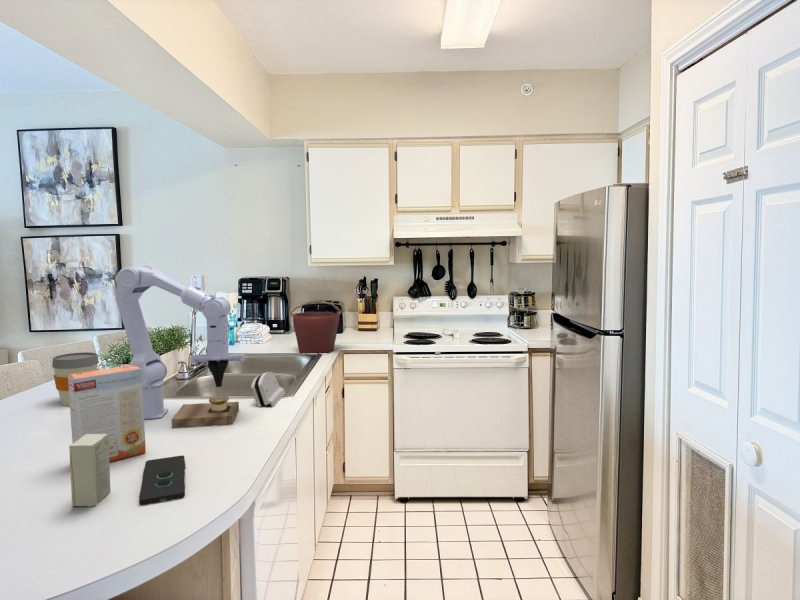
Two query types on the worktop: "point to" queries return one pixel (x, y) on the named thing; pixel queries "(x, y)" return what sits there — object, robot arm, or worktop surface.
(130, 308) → the robot arm
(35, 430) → the worktop surface
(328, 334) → the bucket
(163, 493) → the smart home device
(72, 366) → the reusable coffee cup
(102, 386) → the cracker box
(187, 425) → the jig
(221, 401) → the bushing
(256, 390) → the grey piece
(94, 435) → the skincare box
